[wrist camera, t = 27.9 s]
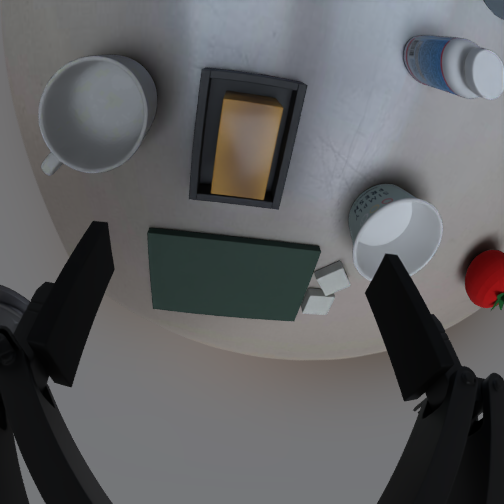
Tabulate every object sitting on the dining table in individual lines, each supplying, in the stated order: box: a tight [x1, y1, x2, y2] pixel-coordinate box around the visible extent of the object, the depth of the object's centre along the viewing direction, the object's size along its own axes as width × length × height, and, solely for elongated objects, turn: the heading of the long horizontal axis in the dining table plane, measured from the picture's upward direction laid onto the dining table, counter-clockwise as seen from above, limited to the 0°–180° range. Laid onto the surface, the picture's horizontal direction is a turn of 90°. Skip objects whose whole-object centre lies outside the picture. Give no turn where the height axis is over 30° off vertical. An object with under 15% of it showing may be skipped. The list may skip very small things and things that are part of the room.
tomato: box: [465, 250, 504, 310], centre depth 39 cm, size 10×10×10 cm
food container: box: [348, 184, 443, 281], centre depth 34 cm, size 12×12×6 cm
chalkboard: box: [147, 228, 321, 321], centre depth 42 cm, size 22×14×1 cm, turn 81°
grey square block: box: [301, 288, 335, 315], centre depth 45 cm, size 4×4×2 cm
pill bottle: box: [404, 35, 504, 100], centre depth 20 cm, size 6×6×11 cm
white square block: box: [314, 261, 350, 296], centre depth 42 cm, size 4×4×2 cm
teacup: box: [38, 55, 157, 176], centre depth 24 cm, size 14×11×8 cm
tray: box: [189, 68, 307, 209], centre depth 29 cm, size 10×14×3 cm
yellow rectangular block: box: [211, 91, 283, 200], centre depth 27 cm, size 5×9×6 cm, turn 170°
